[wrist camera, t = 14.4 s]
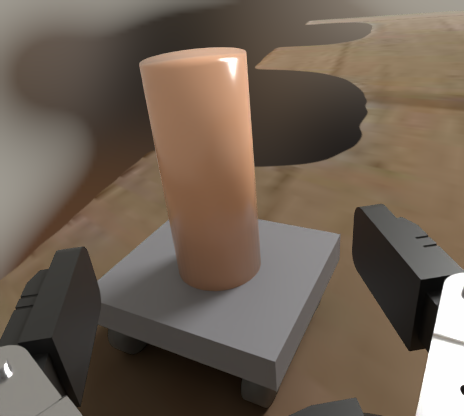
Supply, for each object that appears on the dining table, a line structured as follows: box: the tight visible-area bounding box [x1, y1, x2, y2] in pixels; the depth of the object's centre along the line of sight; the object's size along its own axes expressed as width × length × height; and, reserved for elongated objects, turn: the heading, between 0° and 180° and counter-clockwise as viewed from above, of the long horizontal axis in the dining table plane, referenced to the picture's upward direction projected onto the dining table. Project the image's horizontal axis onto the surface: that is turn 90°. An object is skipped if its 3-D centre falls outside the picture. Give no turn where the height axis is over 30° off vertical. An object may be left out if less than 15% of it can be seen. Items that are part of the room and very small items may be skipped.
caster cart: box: [97, 219, 340, 408], centre depth 27 cm, size 11×12×5 cm
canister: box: [139, 47, 261, 291], centre depth 23 cm, size 5×5×12 cm
